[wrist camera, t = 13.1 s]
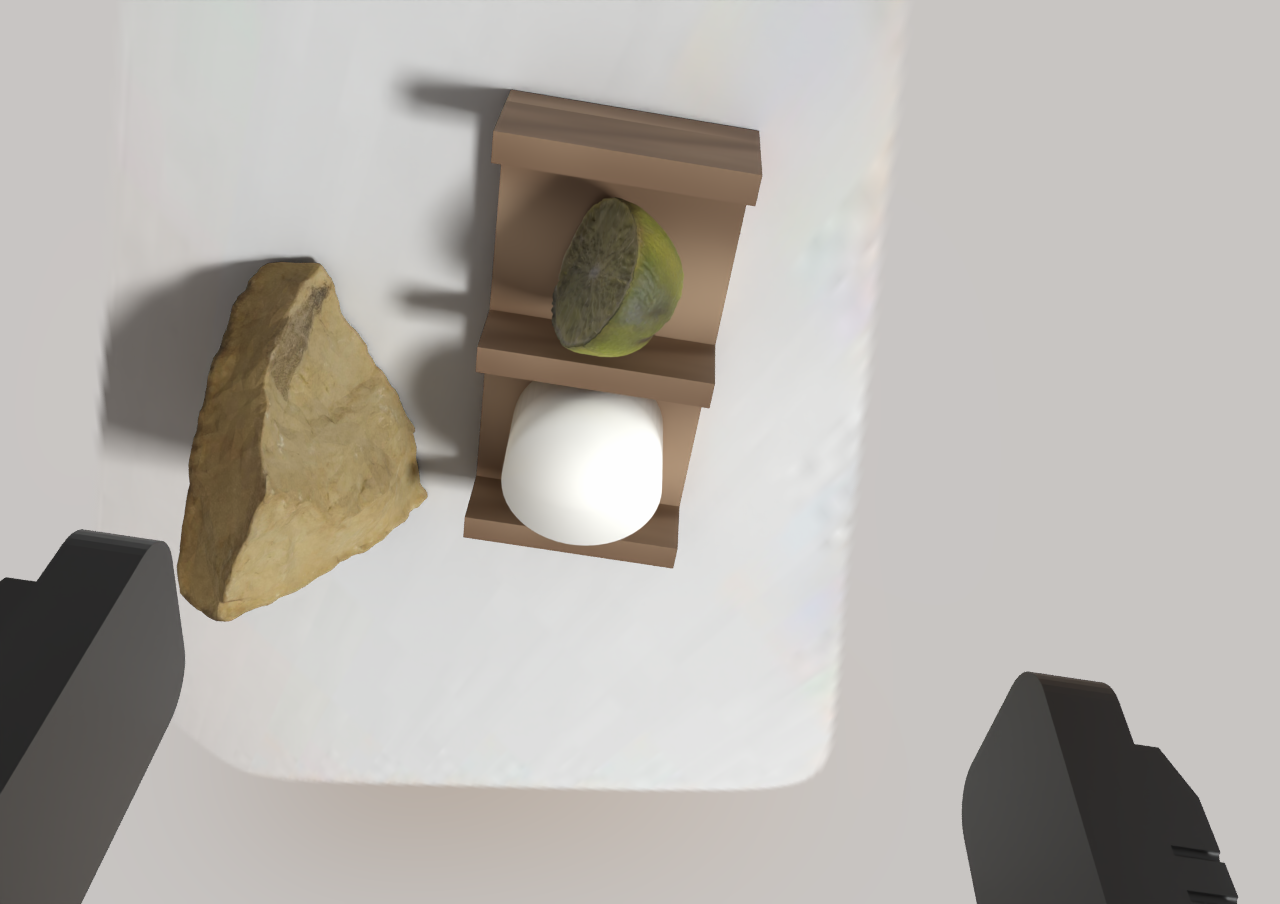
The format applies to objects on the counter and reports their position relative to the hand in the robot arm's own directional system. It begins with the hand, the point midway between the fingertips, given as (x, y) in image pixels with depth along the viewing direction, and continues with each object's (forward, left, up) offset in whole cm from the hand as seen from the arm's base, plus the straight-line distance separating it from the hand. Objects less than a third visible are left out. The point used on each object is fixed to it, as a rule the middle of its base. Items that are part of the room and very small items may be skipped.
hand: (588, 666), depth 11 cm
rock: (+17, -10, -28) cm, 35 cm away
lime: (+9, 0, -27) cm, 29 cm away
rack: (+13, 0, -28) cm, 31 cm away
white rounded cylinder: (+17, 0, -27) cm, 32 cm away
